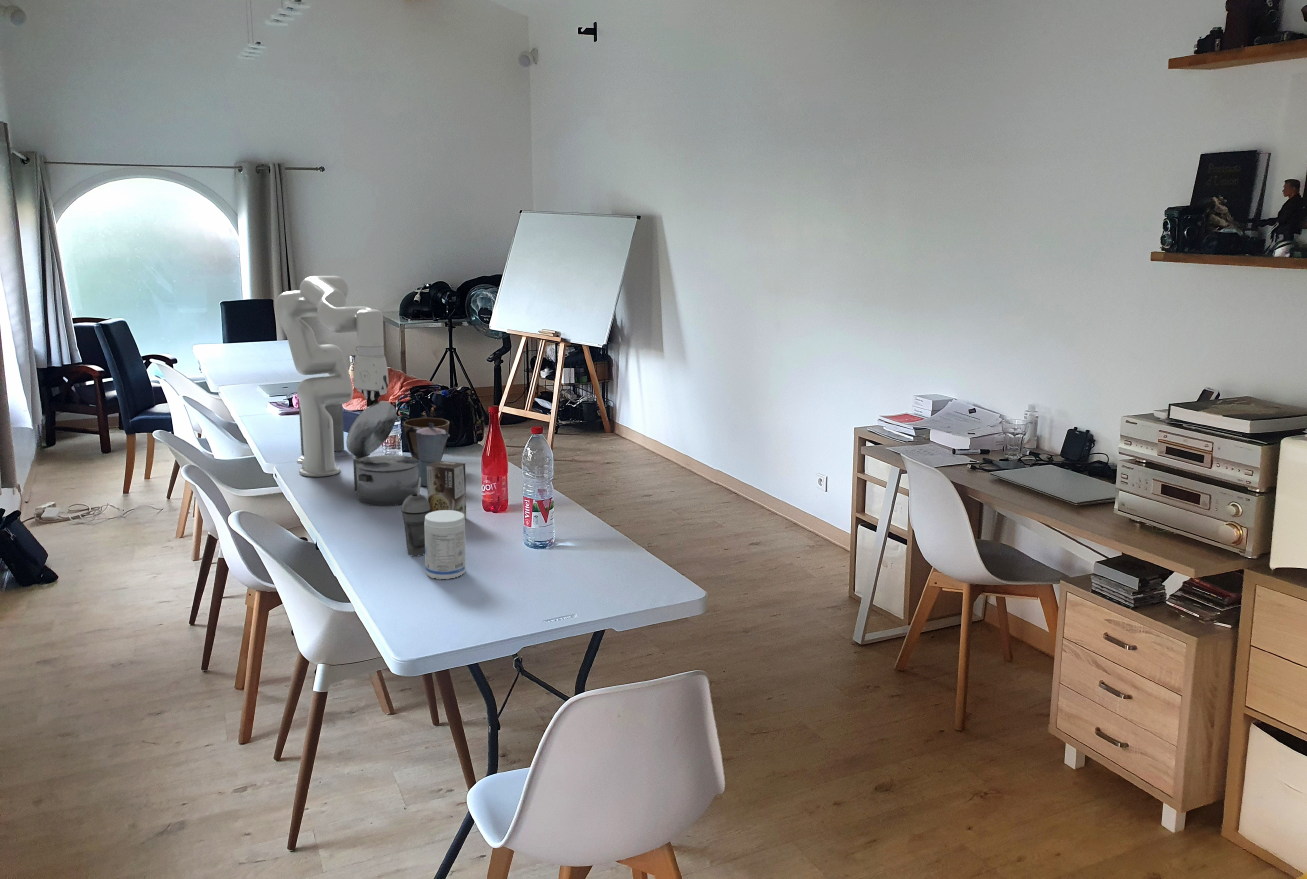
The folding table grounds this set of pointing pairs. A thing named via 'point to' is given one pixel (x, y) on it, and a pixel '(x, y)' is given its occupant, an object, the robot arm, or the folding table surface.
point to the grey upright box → (338, 432)
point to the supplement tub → (444, 544)
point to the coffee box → (446, 486)
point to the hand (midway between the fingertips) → (372, 412)
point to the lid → (371, 429)
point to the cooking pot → (385, 479)
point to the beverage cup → (415, 521)
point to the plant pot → (424, 424)
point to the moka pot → (427, 447)
